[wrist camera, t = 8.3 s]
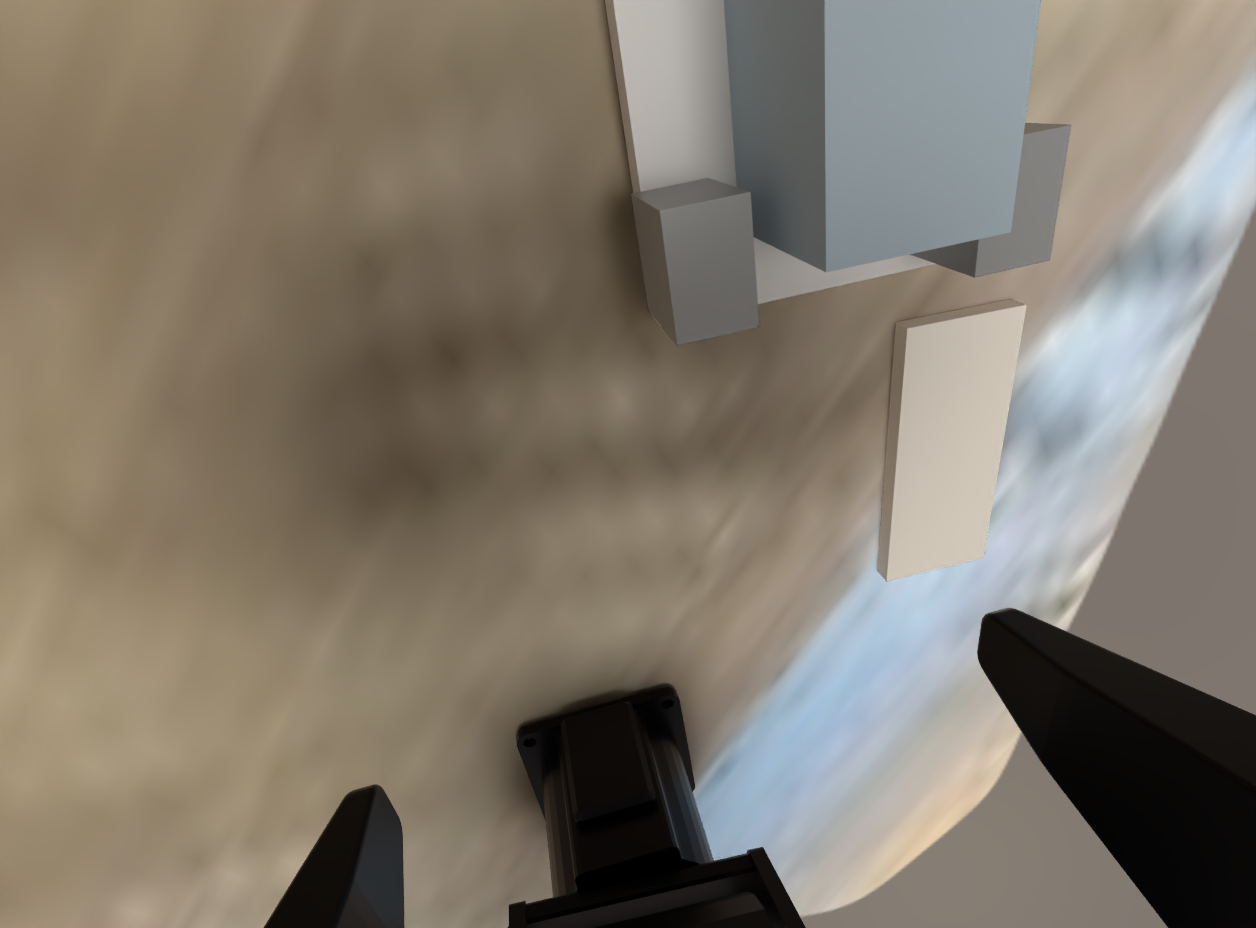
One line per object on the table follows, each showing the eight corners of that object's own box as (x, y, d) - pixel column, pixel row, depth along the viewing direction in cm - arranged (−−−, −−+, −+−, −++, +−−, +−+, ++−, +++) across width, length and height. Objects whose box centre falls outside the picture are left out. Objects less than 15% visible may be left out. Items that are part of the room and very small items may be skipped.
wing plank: (963, 540, 27) (983, 558, 26) (870, 562, 26) (886, 581, 25) (1000, 295, 22) (1026, 304, 21) (886, 317, 21) (907, 328, 20)
